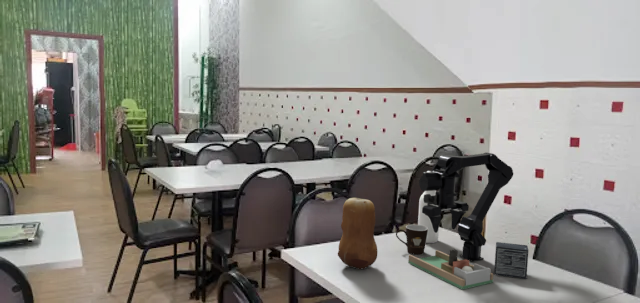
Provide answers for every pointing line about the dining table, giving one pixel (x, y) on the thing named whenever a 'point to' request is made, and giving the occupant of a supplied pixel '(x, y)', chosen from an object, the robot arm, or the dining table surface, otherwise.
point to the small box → (511, 260)
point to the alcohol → (427, 219)
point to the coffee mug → (415, 238)
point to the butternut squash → (358, 234)
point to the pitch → (460, 276)
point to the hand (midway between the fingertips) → (444, 230)
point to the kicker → (454, 262)
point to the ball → (467, 268)
